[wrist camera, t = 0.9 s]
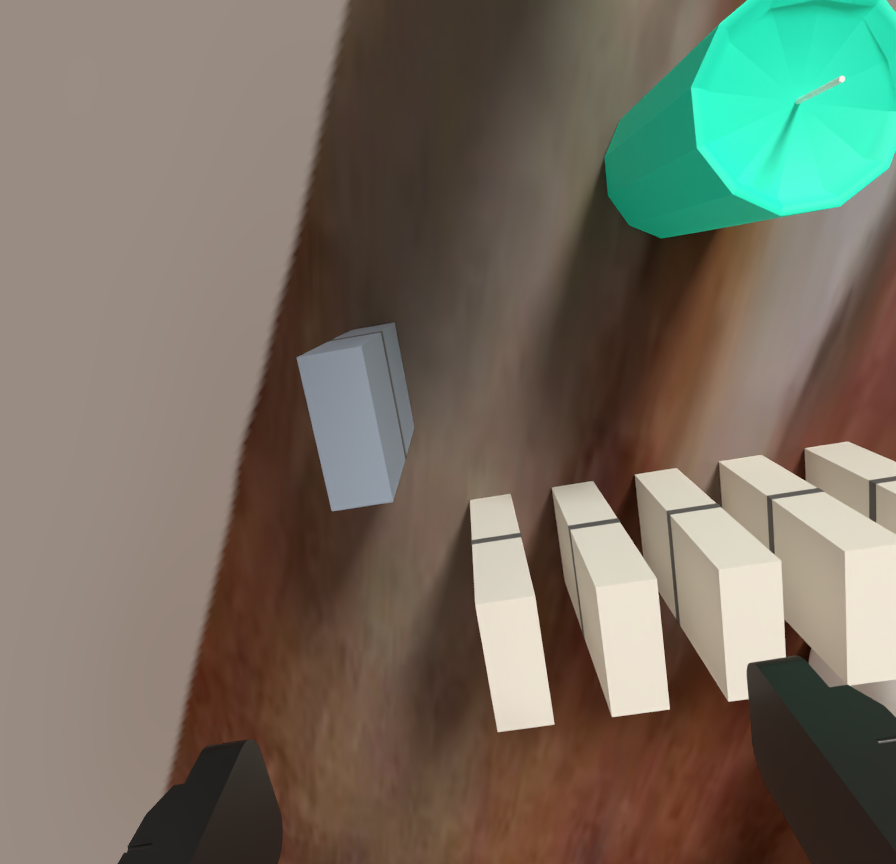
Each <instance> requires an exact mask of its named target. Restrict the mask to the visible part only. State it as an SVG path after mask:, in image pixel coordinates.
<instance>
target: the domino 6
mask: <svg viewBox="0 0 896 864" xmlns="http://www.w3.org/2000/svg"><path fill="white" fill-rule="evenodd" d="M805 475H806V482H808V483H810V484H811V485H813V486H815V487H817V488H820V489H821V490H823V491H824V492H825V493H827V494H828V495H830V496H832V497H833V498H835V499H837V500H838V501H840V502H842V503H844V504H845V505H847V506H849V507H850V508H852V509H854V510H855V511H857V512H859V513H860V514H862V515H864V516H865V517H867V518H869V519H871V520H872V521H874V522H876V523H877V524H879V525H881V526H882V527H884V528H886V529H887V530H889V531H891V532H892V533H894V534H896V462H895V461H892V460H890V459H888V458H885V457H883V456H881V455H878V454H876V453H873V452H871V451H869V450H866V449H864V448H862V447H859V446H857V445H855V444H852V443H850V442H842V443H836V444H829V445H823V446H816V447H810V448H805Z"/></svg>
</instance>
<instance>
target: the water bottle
mask: <svg viewBox="0 0 896 864" xmlns="http://www.w3.org/2000/svg"><path fill="white" fill-rule="evenodd" d="M809 665H810V666H811V667H812V668H813V669H814V670H815V672H816V673H817V674H818V675H819V676H820V677H821V678H822V679H823V681H824V682H825V683H826V684H827V685H828V686H829V687H835V686H841V685H846V684H845V683H844V682H843V681H842V680H841V678H840V677H839V676H838V675H837V674H836V673H835V672H834V671H833V670H832V669H831V668H830V667H829V666H828V665H827V664H826V663H825V662H824V661H823V659H822V658H821V657H820V656H819V655H818V654H817V653H816V652H815V651H814V650H813V649H812V648H811V651H810V655H809ZM850 686H851V687H853V688H854V689H856V690H858V691H860V692H861V693H863V694H865V695H867V696H868V697H870V698H872V699H873V700H875V701H877V702H879V703H880V704H882V705H884V706H885V707H886V708H887V709H888V710H889V711H890V712H891V713H892V714H893V715H894V716H895V717H896V679H895V680H888V681H880V682H873V683H865V684H858V685H850Z"/></svg>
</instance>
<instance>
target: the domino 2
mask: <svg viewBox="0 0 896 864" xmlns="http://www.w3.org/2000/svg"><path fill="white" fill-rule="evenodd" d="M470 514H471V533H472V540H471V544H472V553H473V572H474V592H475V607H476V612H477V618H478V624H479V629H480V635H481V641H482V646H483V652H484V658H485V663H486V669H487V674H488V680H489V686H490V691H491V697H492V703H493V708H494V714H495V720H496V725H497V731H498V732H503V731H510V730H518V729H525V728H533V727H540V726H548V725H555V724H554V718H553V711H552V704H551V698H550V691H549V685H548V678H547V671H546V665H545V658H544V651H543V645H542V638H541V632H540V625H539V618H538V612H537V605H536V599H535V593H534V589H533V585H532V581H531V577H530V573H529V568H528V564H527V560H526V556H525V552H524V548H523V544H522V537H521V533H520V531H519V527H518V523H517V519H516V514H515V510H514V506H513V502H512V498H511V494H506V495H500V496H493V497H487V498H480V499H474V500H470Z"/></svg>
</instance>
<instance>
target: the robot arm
mask: <svg viewBox="0 0 896 864" xmlns="http://www.w3.org/2000/svg"><path fill="white" fill-rule="evenodd" d="M746 673H747V686H748V698H749V709H750V720H751V732H752V742H753V749H754V754H755V758H756V761H757V764H758V767H759V770H760V773H761V775H762V778H763V780H764V782H765V784H766V786H767V788H768V790H769V792H770V794H771V795H772V797H773V799H774V800H775V802H776V804H777V805H778V807H779V809H780V810H781V812H782V814H783V816H784V817H785V819H786V821H787V822H788V824H789V826H790V827H791V829H792V831H793V832H794V834H795V836H796V837H797V839H798V841H799V843H800V844H801V846H802V848H803V849H804V851H805V853H806V854H807V856H808V858H809V859H810V861H811V863H812V864H896V717H895V716H894V715H893V714H892V713H891V712H890V711H889V710H888V709H887V708H886V707H885V706H884V705H882V704H880V703H879V702H877V701H875V700H873V699H872V698H870V697H868V696H867V695H865V694H863V693H861V692H860V691H858V690H856V689H854V688H853V687H851V686H849V685H841V686H835V687H829V686H828V685H827V684H826V683H825V682H824V681H823V679H822V678H821V677H820V676H819V675H818V674H817V673H816V672H815V670H814V669H813V668H812V667H811V666H810V665H809V664H808V662H807V661H806V660H805V659H804V658H802V657H801V656H790V657H784V658H777V659H771V660H765V661H758V662H752V663H749V664H748V666H747V672H746ZM282 835H283V829H282V818H281V813H280V809H279V806H278V803H277V800H276V797H275V794H274V791H273V787H272V784H271V781H270V778H269V775H268V772H267V769H266V766H265V763H264V760H263V757H262V753H261V750H260V748H259V746H258V744H257V742H256V741H255V740H253V739H248V740H242V741H235V742H229V743H222V744H216V745H210V746H207V747H205V748H204V749H203V750H202V752H201V753H200V755H199V757H198V759H197V761H196V763H195V764H194V766H193V768H192V770H191V772H190V774H189V776H188V778H187V779H186V781H185V783H184V784H179V785H174V786H173V787H172V788H171V789H170V790H169V791H168V792H167V793H166V794H165V795H164V796H163V797H162V798H161V799H160V800H159V801H158V802H157V804H156V805H155V806H154V807H153V808H152V809H151V810H150V811H149V812H148V813H147V814H146V816H145V817H144V819H143V821H142V822H141V824H140V826H139V828H138V829H137V831H136V833H135V835H134V837H133V838H132V840H131V842H130V843H129V845H128V851H127V853H124V854H123V856H122V857H121V859H120V861H119V863H118V864H278V861H279V857H280V853H281V848H282Z"/></svg>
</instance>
